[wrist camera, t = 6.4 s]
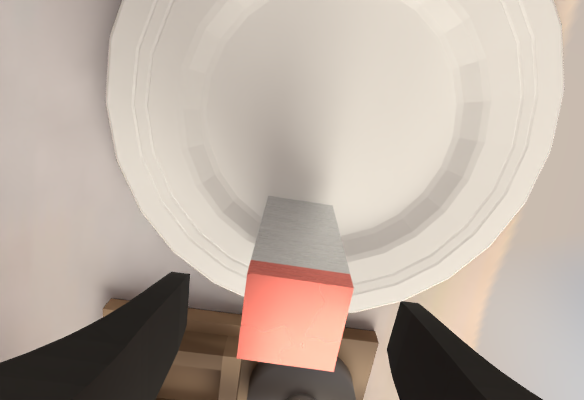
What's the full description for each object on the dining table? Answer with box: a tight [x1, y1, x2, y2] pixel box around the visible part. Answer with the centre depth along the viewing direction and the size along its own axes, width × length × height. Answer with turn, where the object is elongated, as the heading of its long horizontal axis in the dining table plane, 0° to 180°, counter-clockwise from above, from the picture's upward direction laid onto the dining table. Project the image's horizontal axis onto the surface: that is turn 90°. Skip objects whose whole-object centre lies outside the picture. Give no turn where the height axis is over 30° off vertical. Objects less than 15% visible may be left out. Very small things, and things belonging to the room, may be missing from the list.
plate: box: [105, 0, 564, 313], centre depth 17 cm, size 21×21×2 cm
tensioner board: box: [103, 298, 378, 400], centre depth 21 cm, size 8×16×3 cm, turn 82°
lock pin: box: [237, 196, 354, 372], centre depth 15 cm, size 3×3×7 cm
